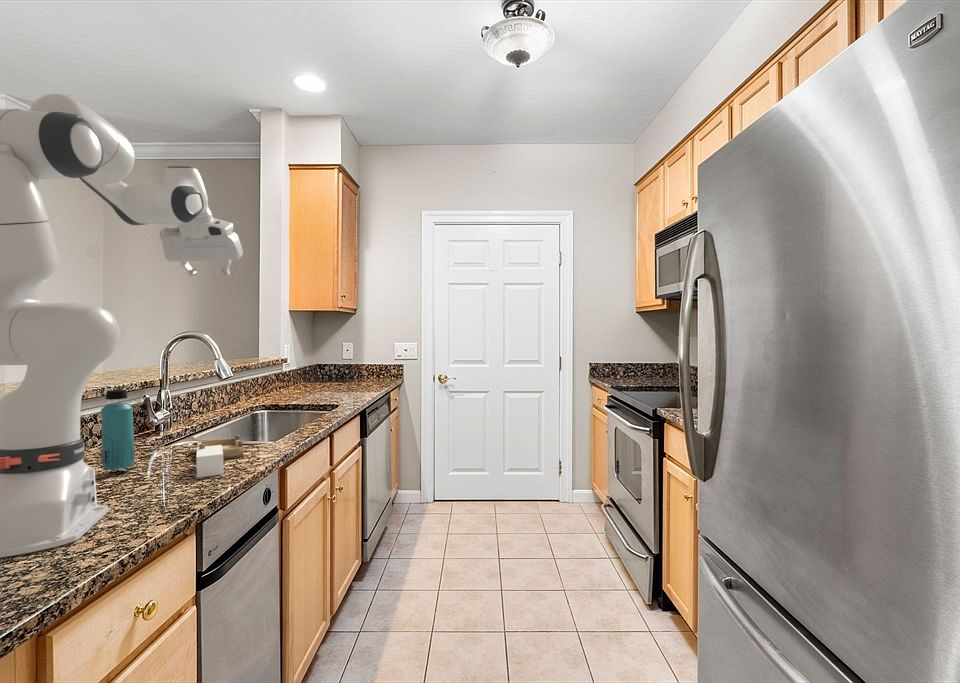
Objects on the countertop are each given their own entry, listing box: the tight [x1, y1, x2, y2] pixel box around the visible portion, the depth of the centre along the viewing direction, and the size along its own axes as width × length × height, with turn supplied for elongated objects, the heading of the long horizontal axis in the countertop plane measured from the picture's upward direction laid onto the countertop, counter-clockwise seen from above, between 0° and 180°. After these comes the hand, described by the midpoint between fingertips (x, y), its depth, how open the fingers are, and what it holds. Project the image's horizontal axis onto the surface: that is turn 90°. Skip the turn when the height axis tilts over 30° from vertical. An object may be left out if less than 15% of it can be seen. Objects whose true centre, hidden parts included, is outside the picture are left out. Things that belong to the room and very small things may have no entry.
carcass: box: [196, 434, 244, 460], centre depth 137 cm, size 15×11×4 cm
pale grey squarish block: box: [196, 444, 224, 478], centre depth 121 cm, size 11×6×6 cm, turn 30°
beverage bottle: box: [100, 388, 136, 471], centre depth 118 cm, size 6×7×20 cm
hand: (209, 274), depth 142 cm, fingers open, 8 cm apart
